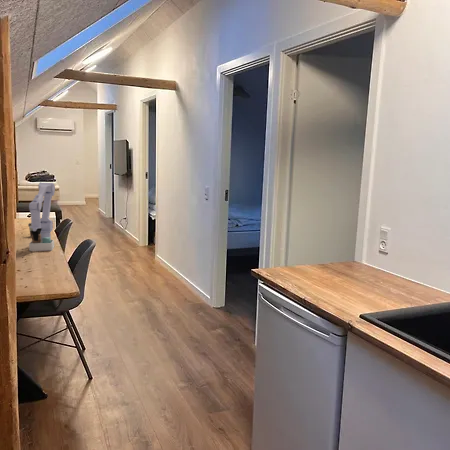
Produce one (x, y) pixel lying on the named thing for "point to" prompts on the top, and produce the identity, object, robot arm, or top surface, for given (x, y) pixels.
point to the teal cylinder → (46, 240)
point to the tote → (41, 246)
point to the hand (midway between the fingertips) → (36, 239)
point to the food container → (30, 229)
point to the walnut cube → (38, 239)
